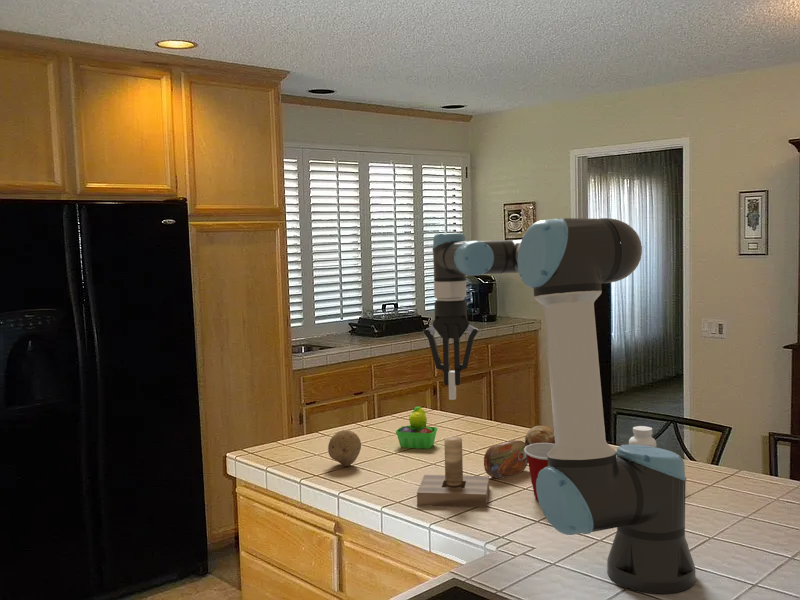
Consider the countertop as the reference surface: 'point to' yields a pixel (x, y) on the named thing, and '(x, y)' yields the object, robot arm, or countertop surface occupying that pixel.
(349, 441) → the natural sponge
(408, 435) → the fruit basket
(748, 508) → the countertop surface
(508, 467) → the tin
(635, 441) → the supplement bottle
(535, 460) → the plastic cup
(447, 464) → the peg
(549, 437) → the bread roll
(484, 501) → the board
